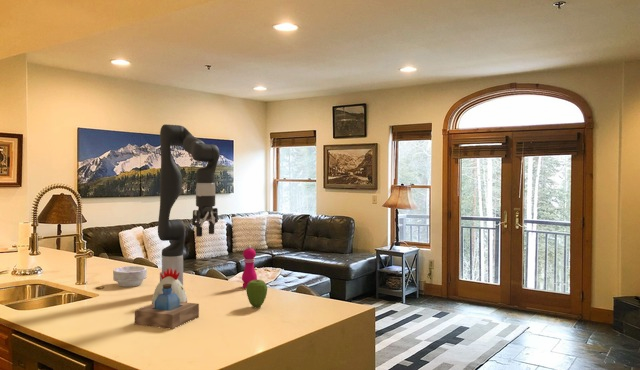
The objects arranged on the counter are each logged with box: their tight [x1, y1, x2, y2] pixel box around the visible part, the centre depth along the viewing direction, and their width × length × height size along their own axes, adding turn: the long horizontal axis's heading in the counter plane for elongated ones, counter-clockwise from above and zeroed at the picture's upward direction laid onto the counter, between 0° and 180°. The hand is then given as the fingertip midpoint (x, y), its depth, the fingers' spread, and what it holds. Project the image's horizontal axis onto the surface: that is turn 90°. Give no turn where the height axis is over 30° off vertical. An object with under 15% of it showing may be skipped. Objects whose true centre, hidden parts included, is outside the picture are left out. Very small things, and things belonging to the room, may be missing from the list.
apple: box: [245, 279, 268, 309], centre depth 202 cm, size 9×8×12 cm
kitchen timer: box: [151, 268, 188, 304], centre depth 205 cm, size 14×14×15 cm
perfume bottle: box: [155, 284, 180, 311], centre depth 182 cm, size 6×6×12 cm
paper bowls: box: [112, 265, 148, 288], centre depth 242 cm, size 15×15×8 cm
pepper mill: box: [241, 244, 258, 289], centre depth 238 cm, size 7×7×20 cm
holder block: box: [134, 301, 200, 330], centre depth 183 cm, size 16×16×5 cm
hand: (205, 235), depth 199 cm, fingers open, 8 cm apart
